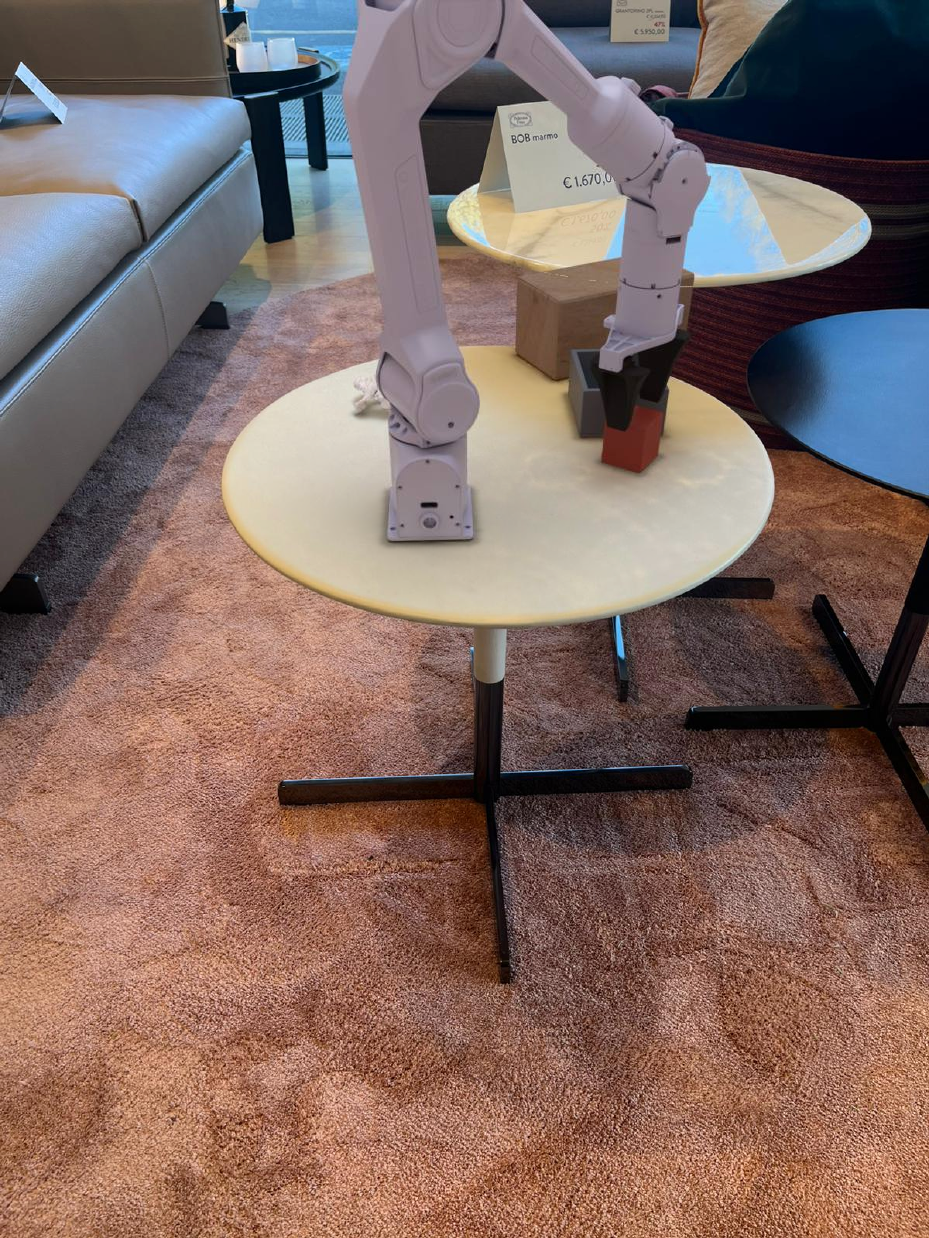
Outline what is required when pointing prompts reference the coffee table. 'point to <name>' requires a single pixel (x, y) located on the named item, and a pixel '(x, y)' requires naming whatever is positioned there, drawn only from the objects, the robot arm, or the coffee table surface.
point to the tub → (597, 395)
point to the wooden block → (572, 312)
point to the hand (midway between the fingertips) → (634, 413)
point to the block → (634, 441)
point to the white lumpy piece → (369, 392)
